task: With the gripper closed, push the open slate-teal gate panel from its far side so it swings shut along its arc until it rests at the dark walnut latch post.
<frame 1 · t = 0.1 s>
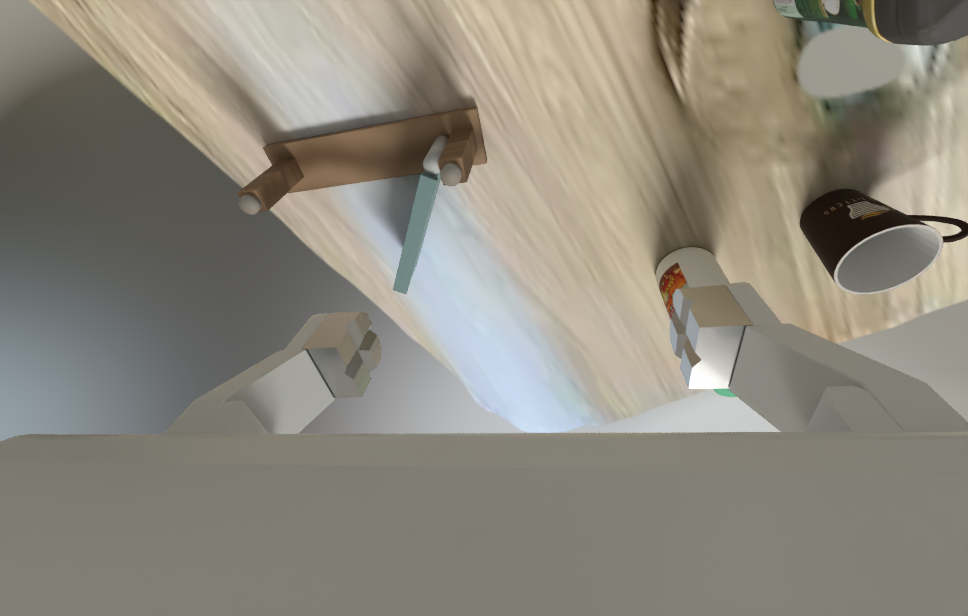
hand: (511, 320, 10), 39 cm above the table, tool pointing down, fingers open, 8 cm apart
gate: (420, 220, 48), point 5 cm above the table, hinge at 60.0°
milk bottle: (683, 267, 54), on the table
gate frame: (375, 152, 47), on the table
coffee mug: (843, 214, 47), on the table
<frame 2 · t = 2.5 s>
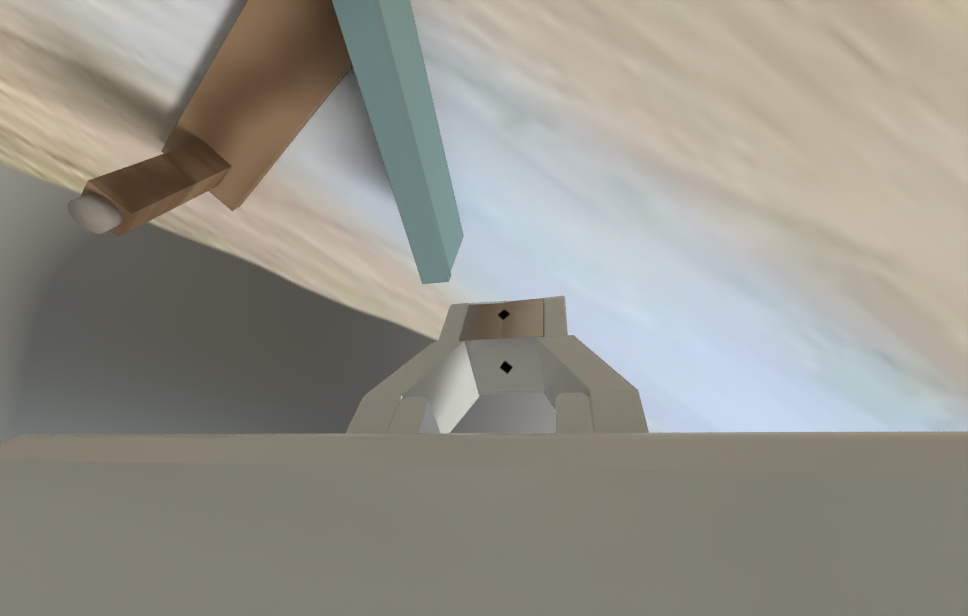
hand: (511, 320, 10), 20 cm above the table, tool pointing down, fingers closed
gate: (406, 111, 22), point 5 cm above the table, hinge at 60.0°
gate frame: (295, 49, 25), on the table
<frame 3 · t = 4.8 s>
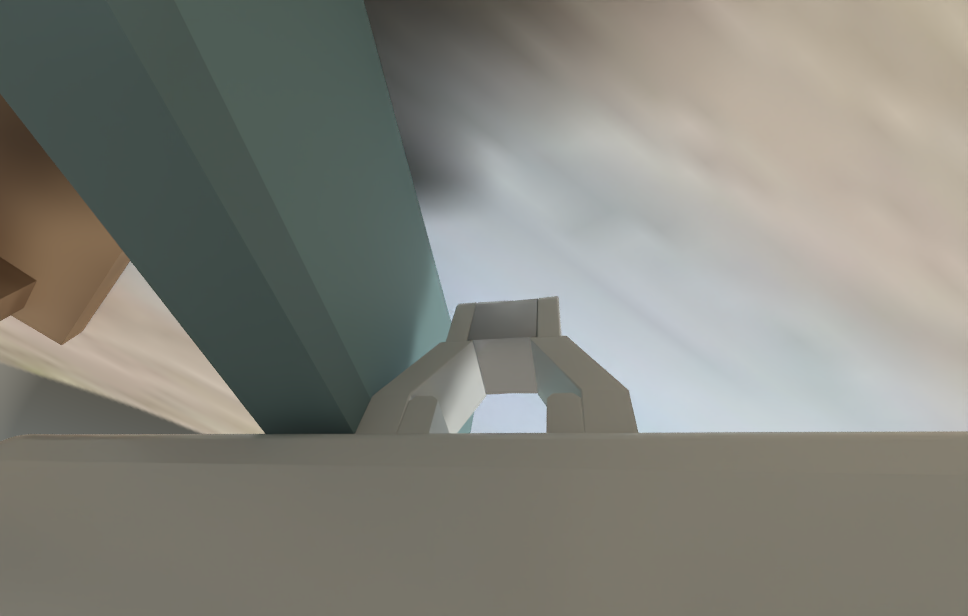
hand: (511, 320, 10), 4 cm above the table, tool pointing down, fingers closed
gate: (338, 237, 8), point 5 cm above the table, hinge at 60.0°, touching gripper
gate frame: (110, 65, 11), on the table
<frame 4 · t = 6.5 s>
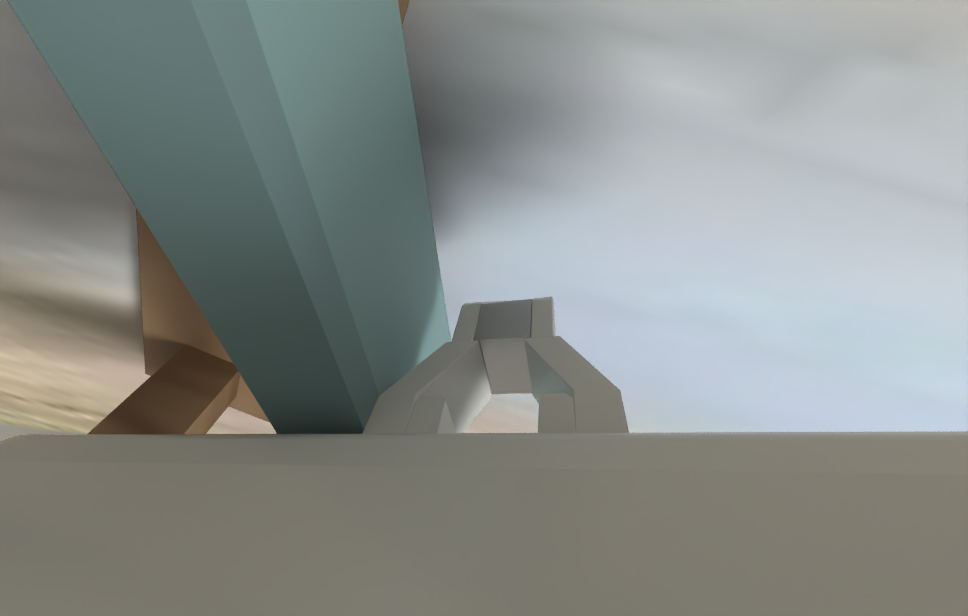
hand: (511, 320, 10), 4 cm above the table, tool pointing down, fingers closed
gate: (354, 231, 8), point 5 cm above the table, hinge at 32.0°, touching gripper
gate frame: (258, 140, 12), on the table
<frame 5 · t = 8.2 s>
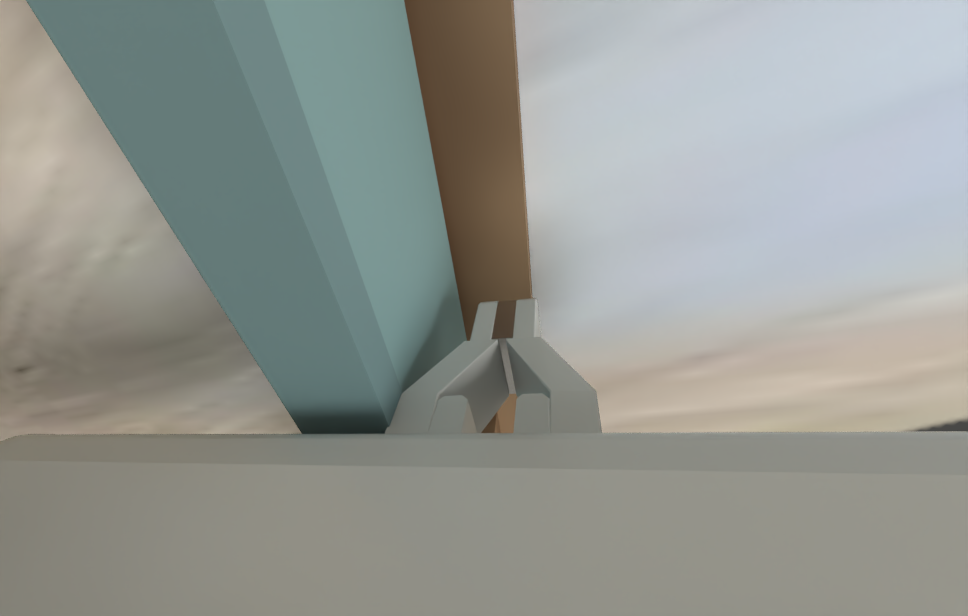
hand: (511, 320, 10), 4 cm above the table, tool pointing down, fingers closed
gate: (370, 230, 8), point 5 cm above the table, hinge at -0.7°, touching gripper
gate frame: (428, 177, 12), on the table
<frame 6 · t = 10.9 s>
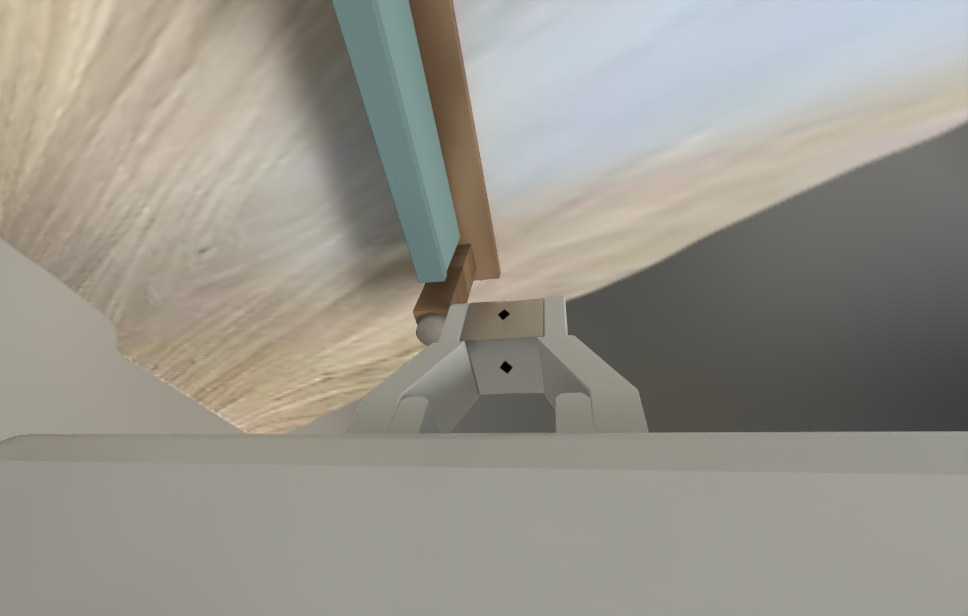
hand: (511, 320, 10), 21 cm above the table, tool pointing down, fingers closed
gate: (406, 115, 23), point 5 cm above the table, hinge at -0.7°
gate frame: (428, 109, 27), on the table
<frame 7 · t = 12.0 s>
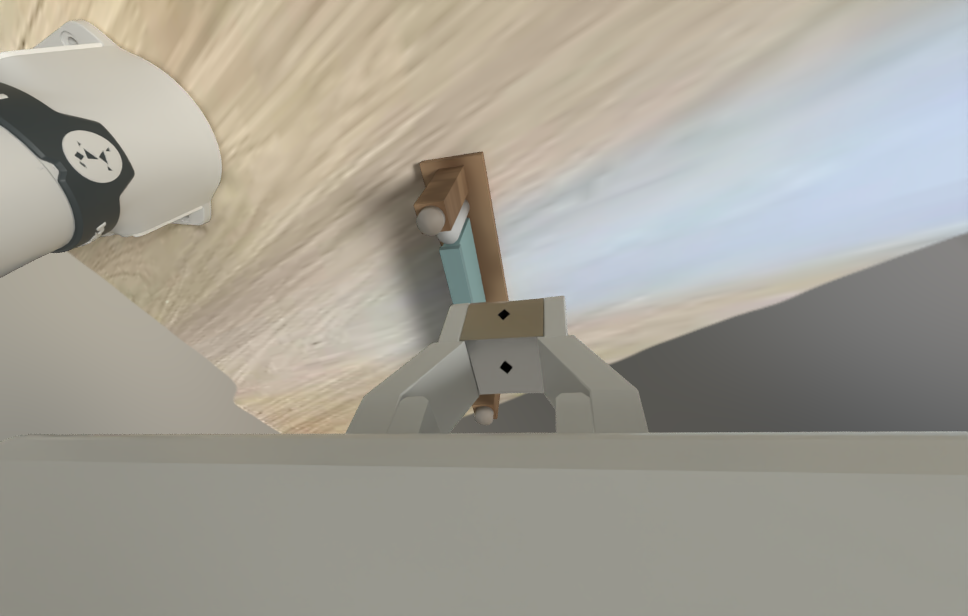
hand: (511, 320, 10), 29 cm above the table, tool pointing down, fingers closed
gate: (470, 297, 40), point 5 cm above the table, hinge at -0.7°
gate frame: (478, 277, 44), on the table
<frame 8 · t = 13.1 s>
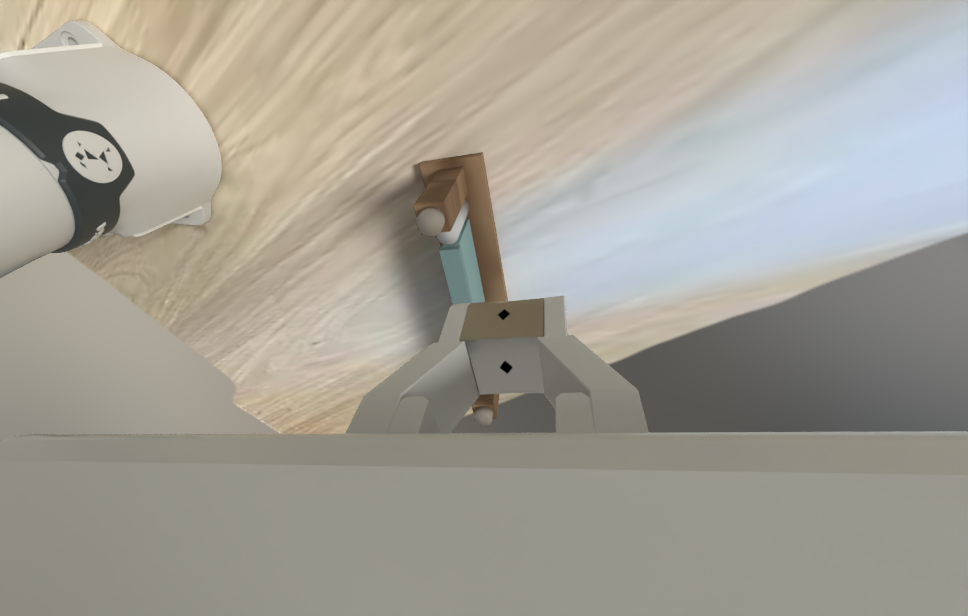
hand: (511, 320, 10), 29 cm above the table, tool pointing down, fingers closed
gate: (470, 298, 40), point 5 cm above the table, hinge at -0.7°
gate frame: (477, 278, 44), on the table
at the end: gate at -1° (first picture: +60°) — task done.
